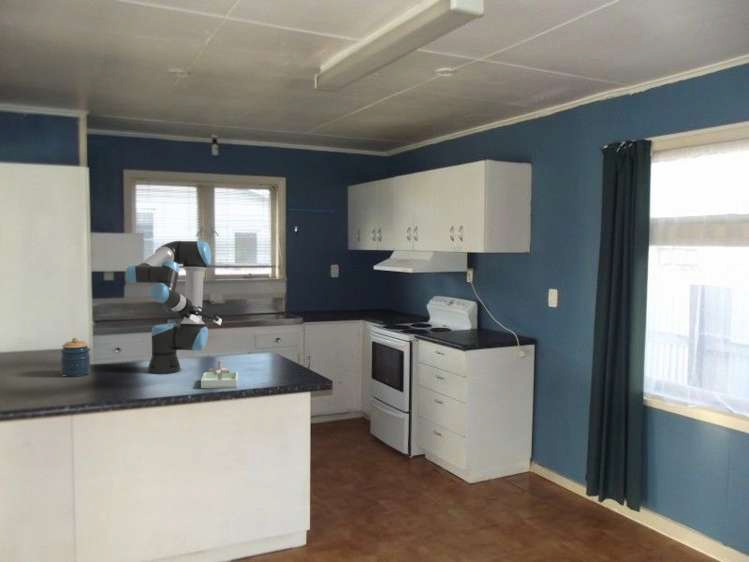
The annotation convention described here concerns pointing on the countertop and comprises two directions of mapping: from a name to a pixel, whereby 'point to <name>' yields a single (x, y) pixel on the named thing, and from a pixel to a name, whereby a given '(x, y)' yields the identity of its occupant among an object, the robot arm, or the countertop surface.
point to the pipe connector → (219, 370)
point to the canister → (75, 358)
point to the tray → (212, 380)
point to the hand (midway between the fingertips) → (209, 321)
